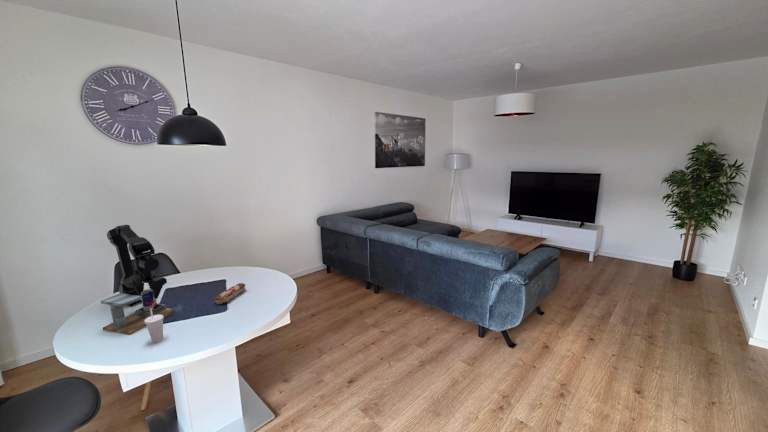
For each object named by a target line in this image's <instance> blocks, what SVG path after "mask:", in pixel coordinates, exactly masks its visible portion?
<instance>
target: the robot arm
mask: <svg viewBox="0 0 768 432" xmlns="http://www.w3.org/2000/svg"><path fill="white" fill-rule="evenodd" d="M106 236H107V239H108V241H109V242H110V244H111V245H112V246H113V247H114V248H115V249H116V253H117V257H118V261H119V265H120V269H121V273H122V276H121V278H120V280H119V281H120V282H119V283H120V284H119V287H118V292H119V293H122V294H130V295H138V296H141V292H142V291H144V290H145V289H144V288H145V284H148V286H149V287H148V289H152V291H153V295H154V298H155V299H156V300H157V299H159V295H160V293H161V291H162V289H163V287H164V285H166V284H167V283H168V280H167V278H166V277H163V276H162V277H161V276H159V277H156V275H155V274H153V271H155V270H156V269H157V268H159V266H160V262H159V260H158V259H157V258H155V257H154V256H153V255H155V254H156V250H155V248H154V246H153V244H152V243H151V242H150V241H149V240H148V239H147V238H145V237H142V236H139V235H138V234H137V233H136V232H135V231H134V230H133V229H132V228H131V225H129V224H122V225H117V226H115V227H114V228H112V229H110V230H108V231H107V233H106ZM131 256H132V257H133V259H134V260H133V261H134V266H135V269H134V266H133V262H132V257H131ZM119 293H118V294H119ZM141 303H142V299H140V300H138V301H136V302H134V303H131V304H129V305H127V306H126V307H134V306H136V305H139V304H141Z"/></svg>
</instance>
